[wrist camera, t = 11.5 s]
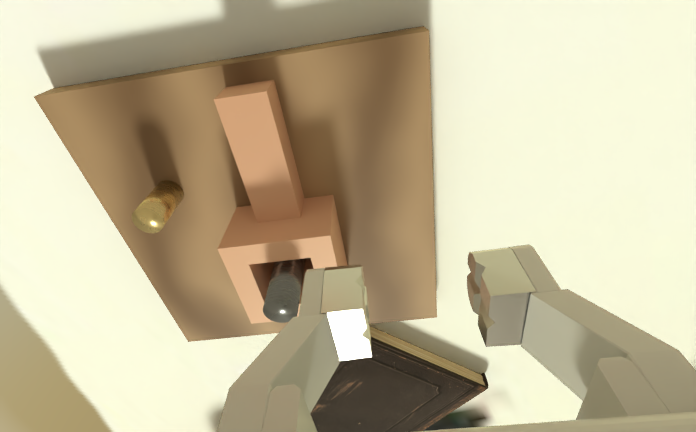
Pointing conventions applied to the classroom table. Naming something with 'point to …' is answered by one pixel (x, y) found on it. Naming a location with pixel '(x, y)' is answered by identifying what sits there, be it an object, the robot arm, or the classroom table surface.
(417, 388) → the hardcover book
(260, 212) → the orange square-holed tool
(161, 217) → the dowel
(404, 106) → the board
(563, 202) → the classroom table surface
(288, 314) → the post
